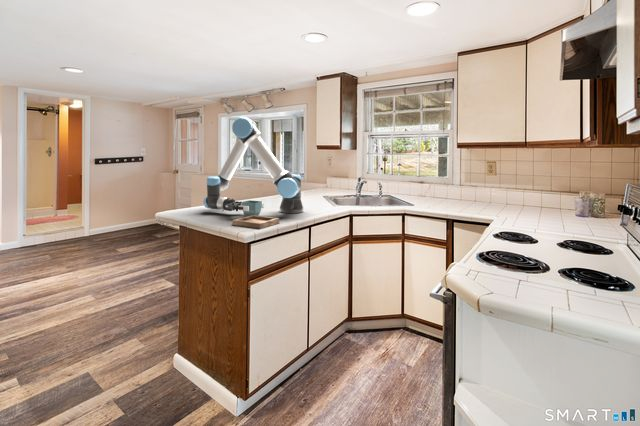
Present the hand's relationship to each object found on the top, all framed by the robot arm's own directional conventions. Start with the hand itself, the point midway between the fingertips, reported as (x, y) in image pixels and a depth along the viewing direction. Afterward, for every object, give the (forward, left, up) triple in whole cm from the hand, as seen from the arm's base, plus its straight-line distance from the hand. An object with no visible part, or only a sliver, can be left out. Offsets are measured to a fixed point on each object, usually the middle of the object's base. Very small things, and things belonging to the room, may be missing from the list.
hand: (256, 207), depth 198 cm
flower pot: (0, -3, -6) cm, 7 cm away
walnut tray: (+15, +11, -6) cm, 20 cm away
